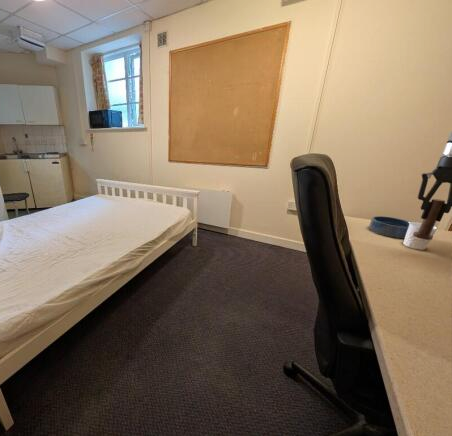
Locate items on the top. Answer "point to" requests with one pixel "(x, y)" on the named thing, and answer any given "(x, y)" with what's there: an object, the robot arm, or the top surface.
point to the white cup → (414, 241)
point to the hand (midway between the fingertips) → (430, 219)
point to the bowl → (389, 226)
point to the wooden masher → (430, 220)
